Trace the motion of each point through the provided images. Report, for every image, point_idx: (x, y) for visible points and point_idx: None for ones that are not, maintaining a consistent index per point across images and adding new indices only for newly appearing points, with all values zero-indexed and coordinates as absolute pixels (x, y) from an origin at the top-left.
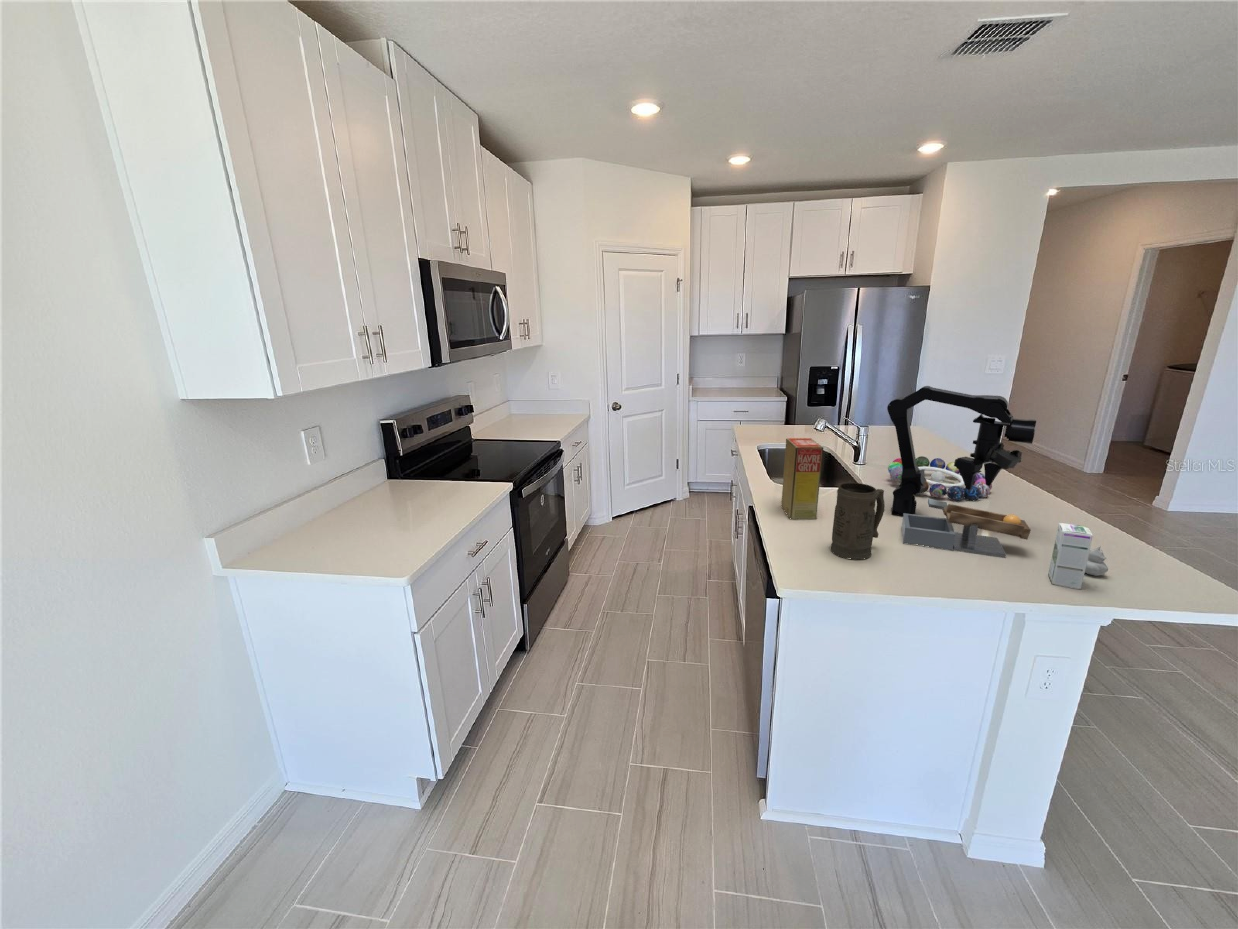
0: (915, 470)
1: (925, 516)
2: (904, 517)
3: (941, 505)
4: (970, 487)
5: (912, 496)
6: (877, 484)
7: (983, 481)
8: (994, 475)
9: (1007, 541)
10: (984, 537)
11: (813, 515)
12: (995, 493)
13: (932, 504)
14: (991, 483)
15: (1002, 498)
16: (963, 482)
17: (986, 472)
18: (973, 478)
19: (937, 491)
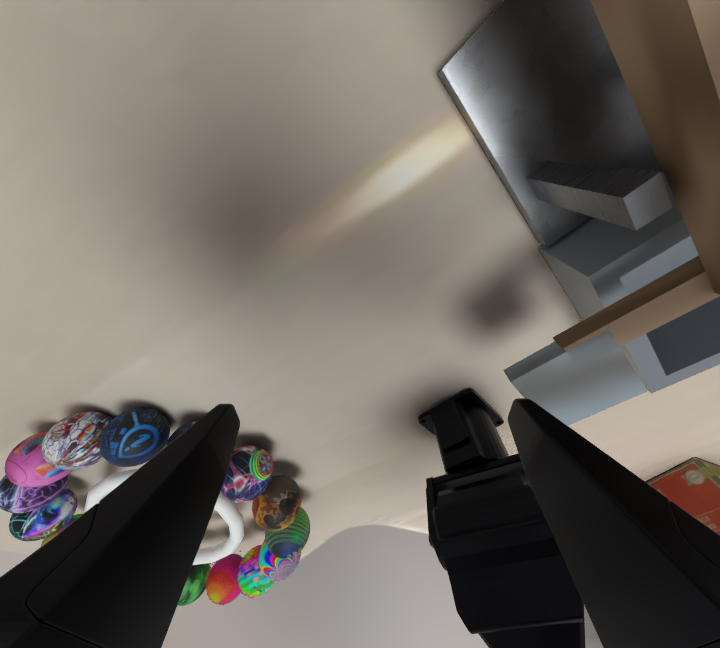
0: (581, 645)
1: (635, 340)
2: (716, 364)
3: (605, 362)
4: (554, 418)
5: (462, 467)
6: (320, 524)
7: (35, 473)
8: (131, 522)
9: (391, 33)
10: (499, 108)
11: (714, 470)
12: (23, 419)
13: (641, 383)
14: (204, 420)
15: (23, 389)
16: (111, 485)
17: (174, 583)
18: (706, 551)
19: (263, 469)
